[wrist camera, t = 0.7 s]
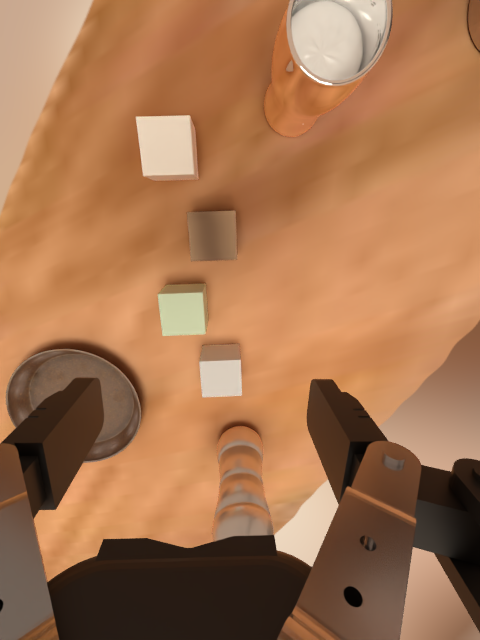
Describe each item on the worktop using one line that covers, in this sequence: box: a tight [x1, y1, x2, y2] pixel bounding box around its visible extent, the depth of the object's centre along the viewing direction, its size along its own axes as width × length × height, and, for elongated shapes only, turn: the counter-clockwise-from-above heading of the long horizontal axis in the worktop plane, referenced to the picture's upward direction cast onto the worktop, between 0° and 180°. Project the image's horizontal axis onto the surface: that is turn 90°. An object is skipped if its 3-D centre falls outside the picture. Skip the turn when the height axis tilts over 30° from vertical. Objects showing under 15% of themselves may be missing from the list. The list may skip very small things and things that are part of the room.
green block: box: [158, 283, 208, 336], centre depth 37 cm, size 5×5×5 cm
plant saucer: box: [6, 349, 141, 463], centre depth 42 cm, size 18×18×3 cm
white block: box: [136, 115, 199, 181], centre depth 32 cm, size 5×5×5 cm
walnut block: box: [187, 211, 237, 261], centre depth 35 cm, size 5×5×5 cm
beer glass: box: [264, 0, 393, 137], centre depth 26 cm, size 7×7×15 cm
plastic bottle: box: [212, 426, 273, 541], centre depth 37 cm, size 6×7×20 cm
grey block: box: [199, 344, 242, 397], centre depth 40 cm, size 5×5×5 cm
